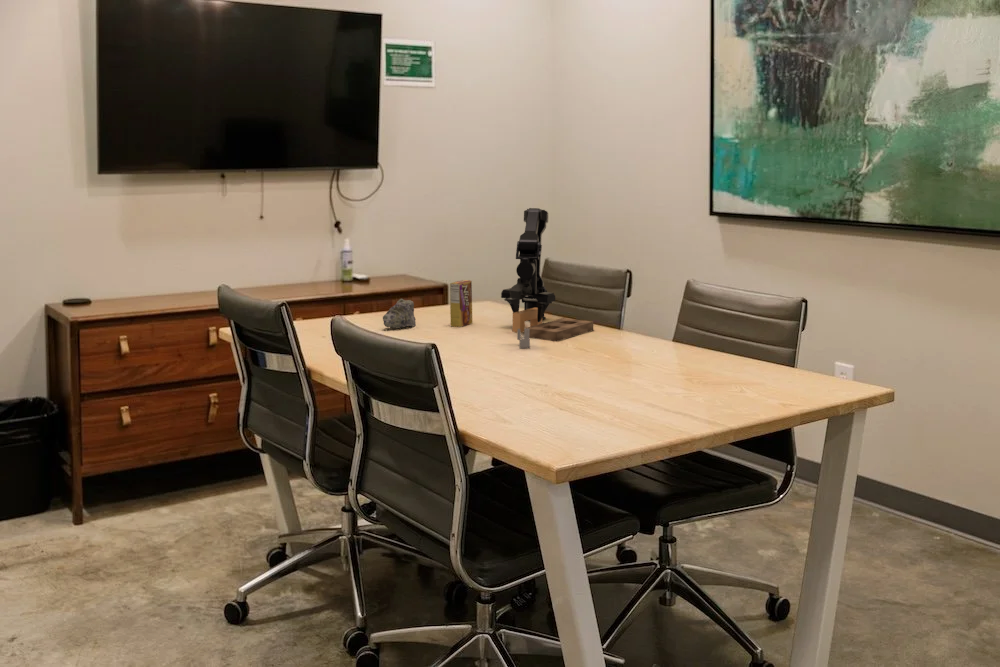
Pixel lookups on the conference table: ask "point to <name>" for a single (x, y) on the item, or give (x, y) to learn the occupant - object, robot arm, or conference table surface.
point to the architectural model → (523, 338)
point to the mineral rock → (400, 315)
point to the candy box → (461, 303)
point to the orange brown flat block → (525, 319)
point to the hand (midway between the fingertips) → (527, 320)
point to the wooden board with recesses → (560, 329)
